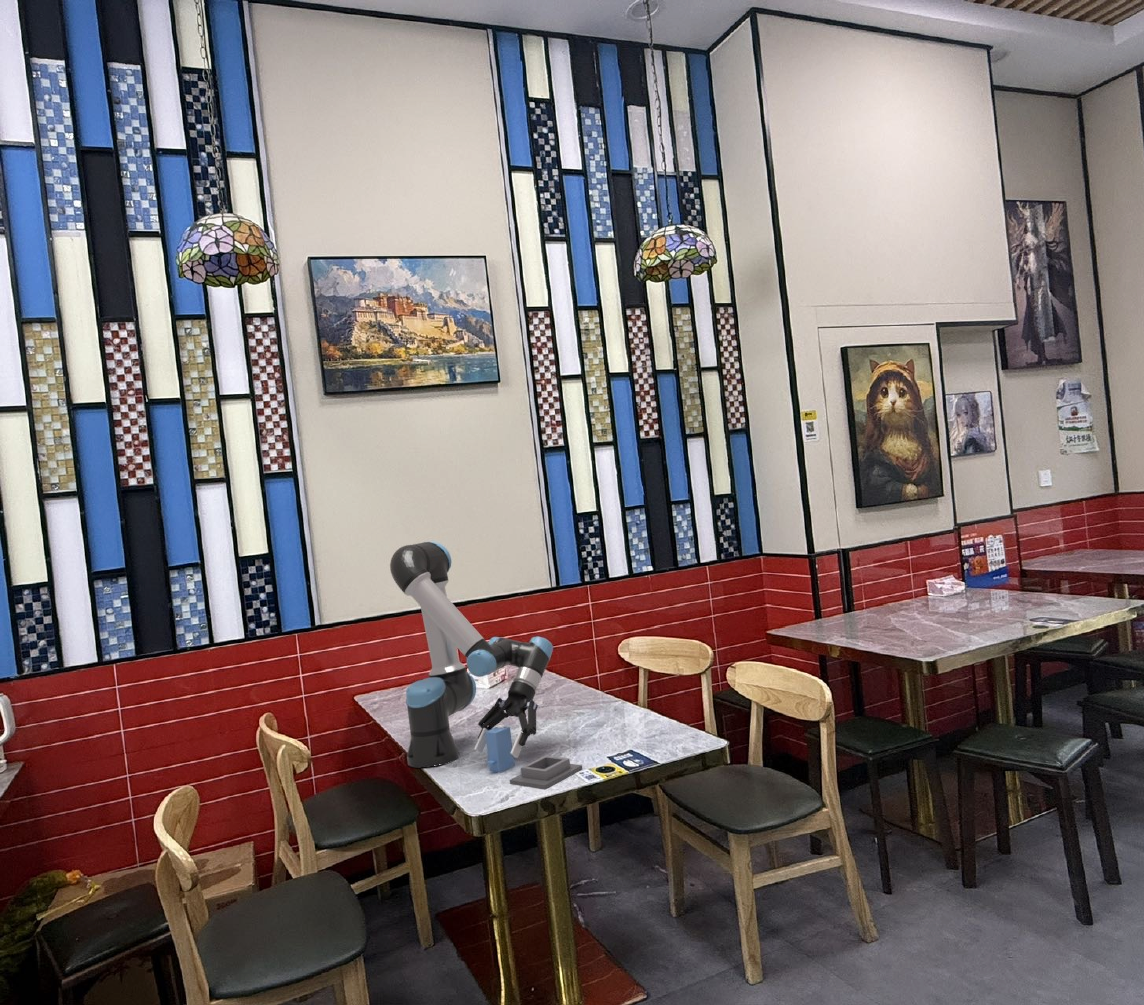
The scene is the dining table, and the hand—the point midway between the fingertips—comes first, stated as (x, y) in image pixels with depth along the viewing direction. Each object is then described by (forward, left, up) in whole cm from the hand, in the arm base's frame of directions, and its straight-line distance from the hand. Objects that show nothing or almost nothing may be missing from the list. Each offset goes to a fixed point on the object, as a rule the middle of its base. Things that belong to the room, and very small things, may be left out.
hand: (495, 753), depth 231 cm
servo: (+1, +2, -5) cm, 5 cm away
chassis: (+16, -6, -5) cm, 18 cm away
